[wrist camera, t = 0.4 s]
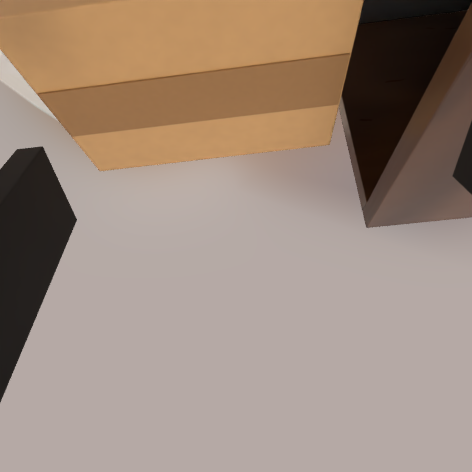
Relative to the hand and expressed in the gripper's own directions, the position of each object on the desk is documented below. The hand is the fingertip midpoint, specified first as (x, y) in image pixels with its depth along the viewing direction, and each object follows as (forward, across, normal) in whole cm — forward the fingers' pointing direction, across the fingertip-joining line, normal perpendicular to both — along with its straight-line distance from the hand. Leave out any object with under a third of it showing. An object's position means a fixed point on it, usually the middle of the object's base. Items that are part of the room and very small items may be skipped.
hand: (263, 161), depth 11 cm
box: (+18, -2, +5) cm, 19 cm away
